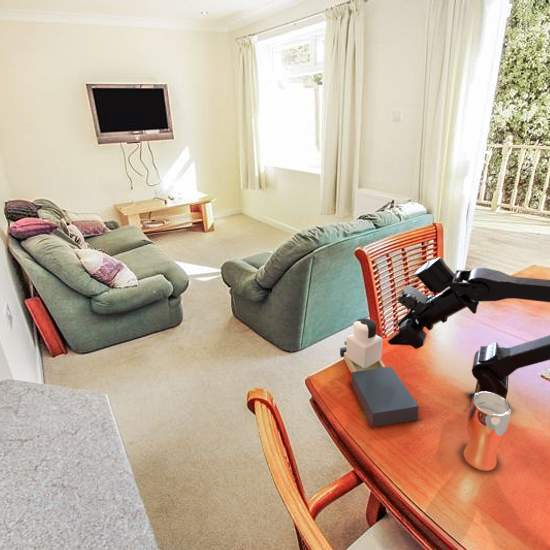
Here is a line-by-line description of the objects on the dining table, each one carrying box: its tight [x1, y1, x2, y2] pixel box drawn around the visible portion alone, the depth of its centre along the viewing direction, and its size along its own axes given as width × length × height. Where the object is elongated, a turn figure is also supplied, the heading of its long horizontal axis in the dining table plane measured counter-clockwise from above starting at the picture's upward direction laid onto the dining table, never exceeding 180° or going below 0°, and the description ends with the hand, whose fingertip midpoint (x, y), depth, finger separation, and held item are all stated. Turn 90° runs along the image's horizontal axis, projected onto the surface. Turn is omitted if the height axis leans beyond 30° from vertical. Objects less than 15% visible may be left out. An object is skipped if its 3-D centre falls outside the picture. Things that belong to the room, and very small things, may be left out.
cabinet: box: [350, 366, 420, 428], centre depth 94 cm, size 15×11×4 cm
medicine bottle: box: [346, 317, 384, 369], centre depth 104 cm, size 7×7×12 cm
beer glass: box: [463, 392, 512, 472], centre depth 75 cm, size 7×7×15 cm
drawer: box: [339, 340, 386, 375], centre depth 108 cm, size 18×10×3 cm, turn 8°
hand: (393, 333), depth 99 cm, fingers open, 9 cm apart
